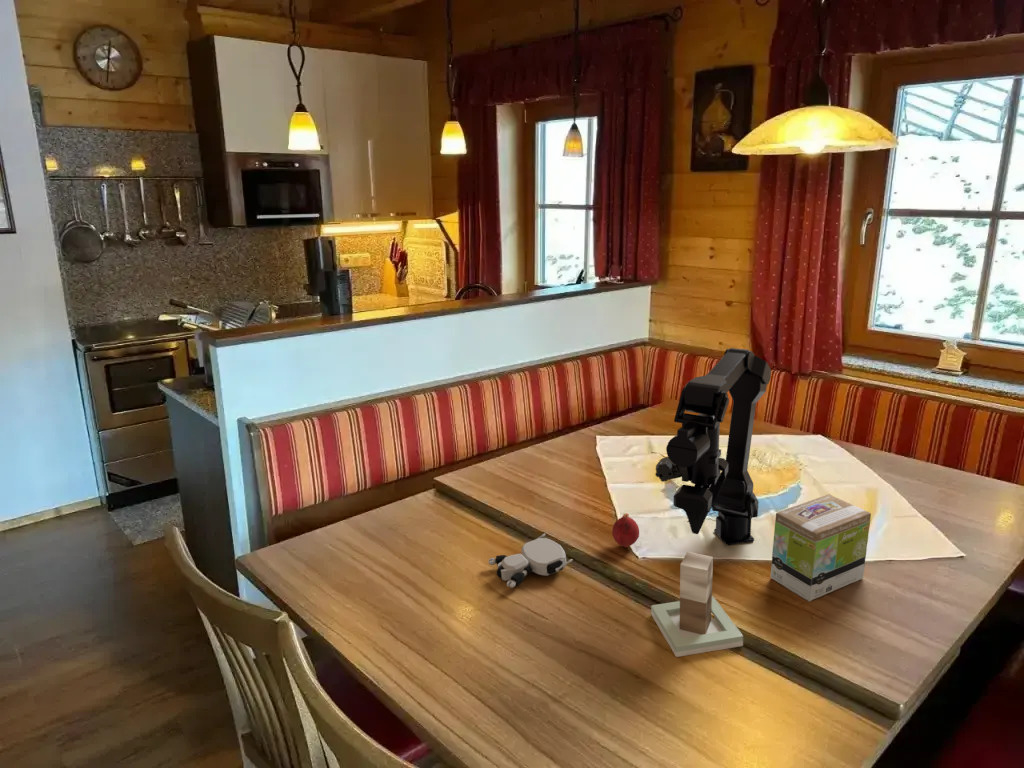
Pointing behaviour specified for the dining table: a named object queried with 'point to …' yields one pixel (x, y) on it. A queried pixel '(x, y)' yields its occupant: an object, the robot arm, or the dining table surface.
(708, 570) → the block stack
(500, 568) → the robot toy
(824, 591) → the tea box
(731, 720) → the dining table surface
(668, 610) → the picture frame
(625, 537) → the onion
